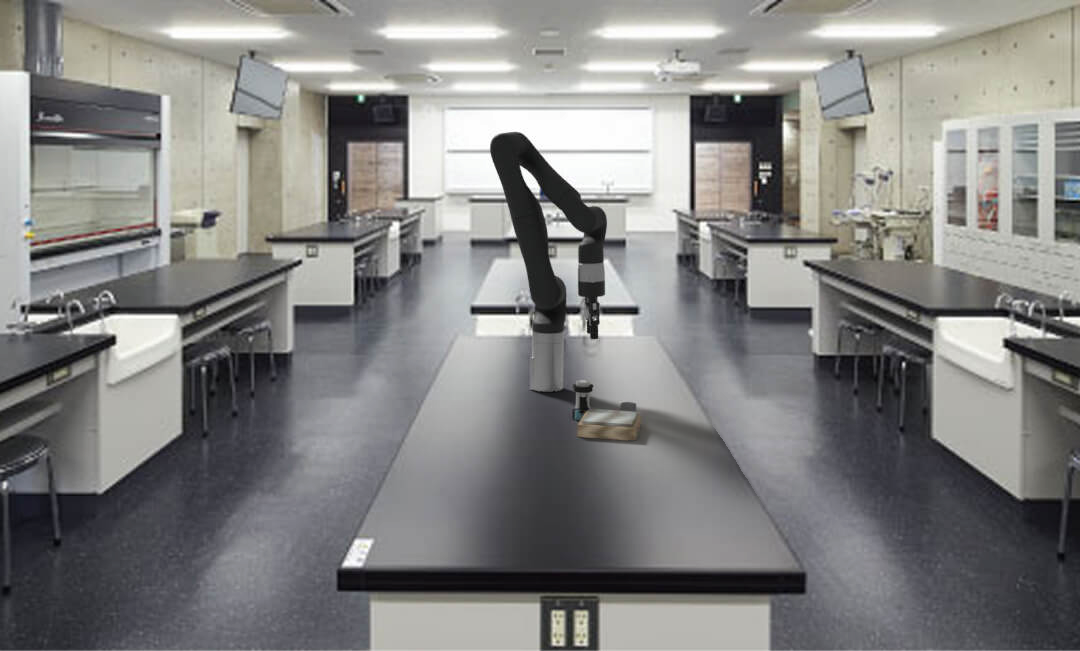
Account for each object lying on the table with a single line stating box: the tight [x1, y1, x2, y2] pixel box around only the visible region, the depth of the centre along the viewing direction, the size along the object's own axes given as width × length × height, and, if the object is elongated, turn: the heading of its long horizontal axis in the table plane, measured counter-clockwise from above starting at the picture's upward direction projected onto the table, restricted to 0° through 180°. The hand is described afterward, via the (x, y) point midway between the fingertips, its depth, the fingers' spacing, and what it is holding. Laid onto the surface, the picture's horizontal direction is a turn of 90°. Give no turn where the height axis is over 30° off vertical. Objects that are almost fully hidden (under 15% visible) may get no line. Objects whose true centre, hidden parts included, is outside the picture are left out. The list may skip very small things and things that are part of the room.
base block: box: [576, 408, 642, 441], centre depth 238 cm, size 14×14×4 cm
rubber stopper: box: [620, 401, 637, 412], centre depth 250 cm, size 4×4×4 cm
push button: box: [571, 379, 594, 421], centre depth 249 cm, size 7×5×10 cm
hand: (592, 336), depth 270 cm, fingers open, 8 cm apart
